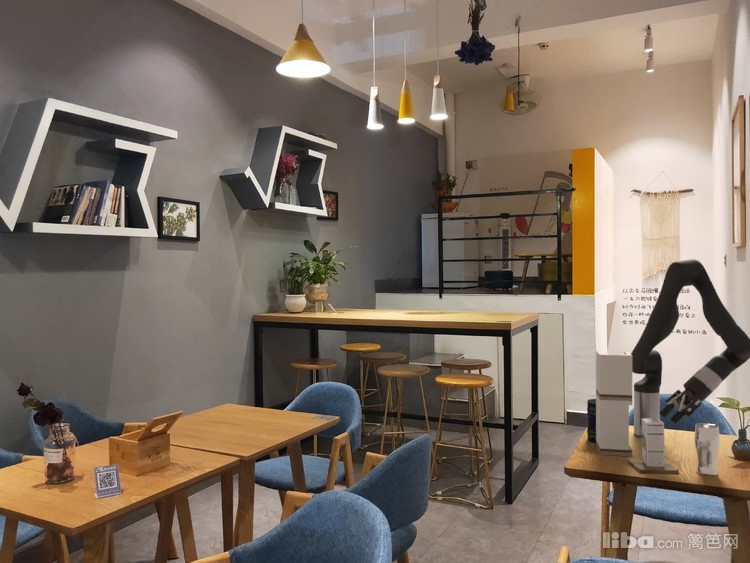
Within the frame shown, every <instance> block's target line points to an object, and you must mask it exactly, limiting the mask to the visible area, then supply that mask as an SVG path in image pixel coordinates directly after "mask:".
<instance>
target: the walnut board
mask: <svg viewBox="0 0 750 563" xmlns="http://www.w3.org/2000/svg"><path fill="white" fill-rule="evenodd" d="M626 463H627V464H629V466H631V467H633V468H634V469H635V470H636V471H637V472H638V473H639V474H678V473H679V474H680V470H679V469H678V468H676V467H675V466H674V465H672V464H671V463H669V462H668V461H666V460H665V467H648V466H646V465H645V464H644V463H643V461H642V458H626Z"/></svg>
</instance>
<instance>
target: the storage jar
mask: <svg viewBox="0 0 750 563" xmlns="http://www.w3.org/2000/svg"><path fill="white" fill-rule="evenodd" d="M586 414H587V422H588V423H587V425H586V429H587V430H586V433H587V434H586V435H587V441H588V442H589V441H590V442H589V443H592V444H596V398H592V399H591V398H590V399H588V400H587V407H586Z"/></svg>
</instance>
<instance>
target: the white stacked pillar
mask: <svg viewBox="0 0 750 563" xmlns="http://www.w3.org/2000/svg"><path fill="white" fill-rule="evenodd" d="M595 359H596V360H595V399H596V443H595V446H596V448H597V450H598V453H599V455H604V456H605V455H606V456H607V455H608V456H623V457H633V449H632V448H631V446H630V435H629V434H630V418H629V417H630V406H633V372H632V355H631V353H630V352H628V351H623V354H606V353H602V352H601V351H600V350H596V351H595Z"/></svg>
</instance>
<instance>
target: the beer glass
mask: <svg viewBox="0 0 750 563" xmlns="http://www.w3.org/2000/svg"><path fill="white" fill-rule="evenodd" d="M694 429H695V430H694V445H695V450H696V456H697V465H696V470H695V471H696V473H698V474H699V475H703V476H711V477H712V476H713V477H715V476H718V475H719V474H718V473H719V471H718V468H717V466H718V465H717V459H718V455H719V454H718V453H719V450H720V426H719V425H716V424H713V423H705V422H704V423H703V422H702V423H701V422H700V423H695V426H694Z"/></svg>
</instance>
